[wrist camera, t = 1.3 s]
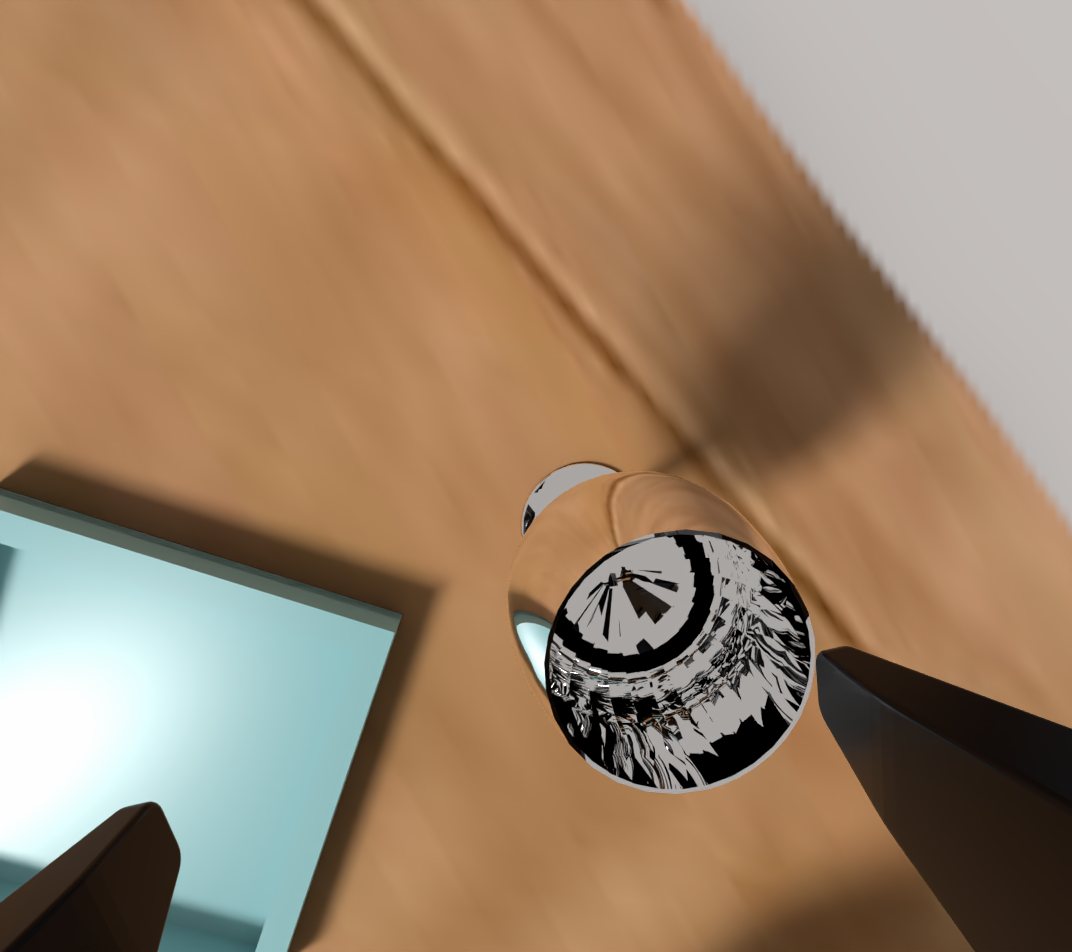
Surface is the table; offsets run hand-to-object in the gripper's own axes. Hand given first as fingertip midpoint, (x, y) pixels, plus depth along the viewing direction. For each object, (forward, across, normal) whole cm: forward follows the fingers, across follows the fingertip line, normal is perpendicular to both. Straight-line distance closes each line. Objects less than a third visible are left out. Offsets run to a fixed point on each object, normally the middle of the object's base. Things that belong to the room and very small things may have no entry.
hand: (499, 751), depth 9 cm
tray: (+13, +13, +7) cm, 20 cm away
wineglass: (+14, -3, +3) cm, 15 cm away
